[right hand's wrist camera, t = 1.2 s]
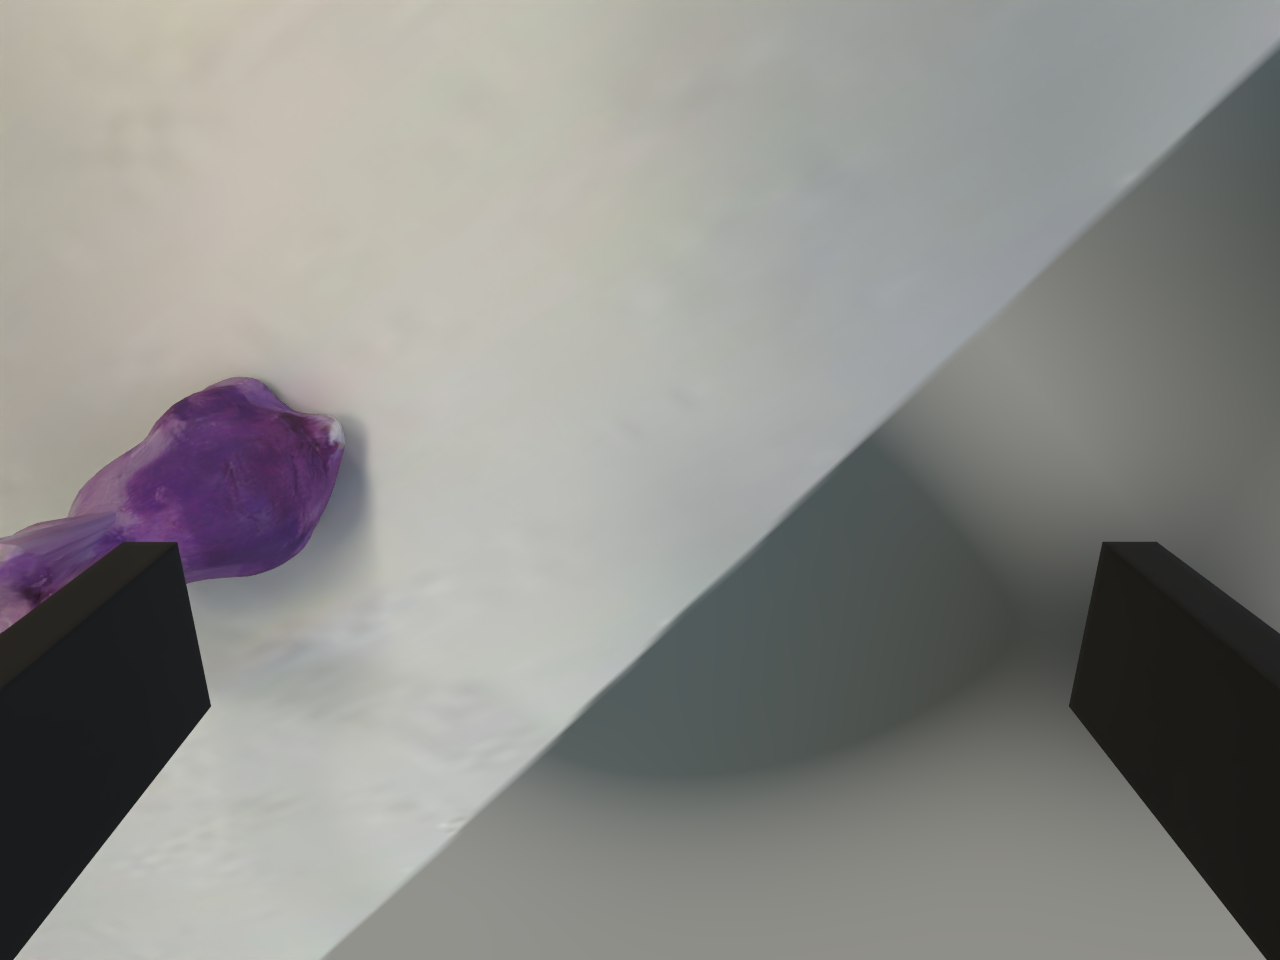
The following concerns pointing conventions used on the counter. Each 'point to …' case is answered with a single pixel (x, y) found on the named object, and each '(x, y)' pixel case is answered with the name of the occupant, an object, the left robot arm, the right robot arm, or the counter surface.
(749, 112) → the counter surface
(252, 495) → the figurine
